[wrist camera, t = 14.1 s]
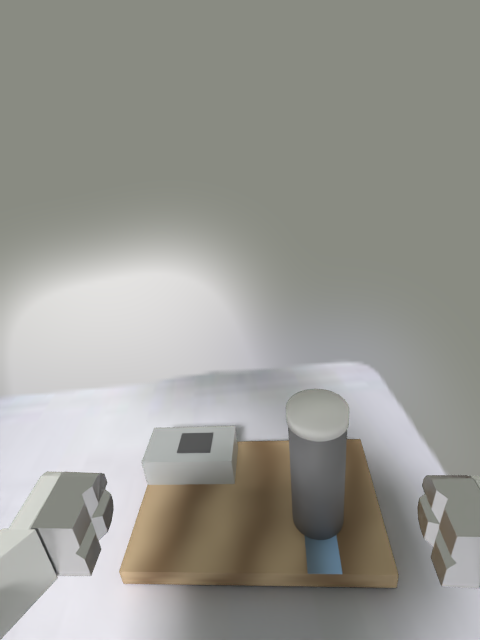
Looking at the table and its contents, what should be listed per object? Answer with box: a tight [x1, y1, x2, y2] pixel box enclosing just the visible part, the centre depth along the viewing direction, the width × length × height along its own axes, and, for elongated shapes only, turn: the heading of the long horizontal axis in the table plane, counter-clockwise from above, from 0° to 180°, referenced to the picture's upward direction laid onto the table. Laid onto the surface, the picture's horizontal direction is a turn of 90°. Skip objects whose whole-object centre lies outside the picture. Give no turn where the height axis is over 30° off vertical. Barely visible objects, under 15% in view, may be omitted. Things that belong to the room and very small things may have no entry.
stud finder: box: [142, 426, 238, 485], centre depth 37 cm, size 8×4×3 cm, turn 86°
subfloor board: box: [119, 439, 398, 588], centre depth 35 cm, size 20×13×2 cm, turn 86°
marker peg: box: [286, 389, 349, 540], centre depth 29 cm, size 4×4×11 cm
